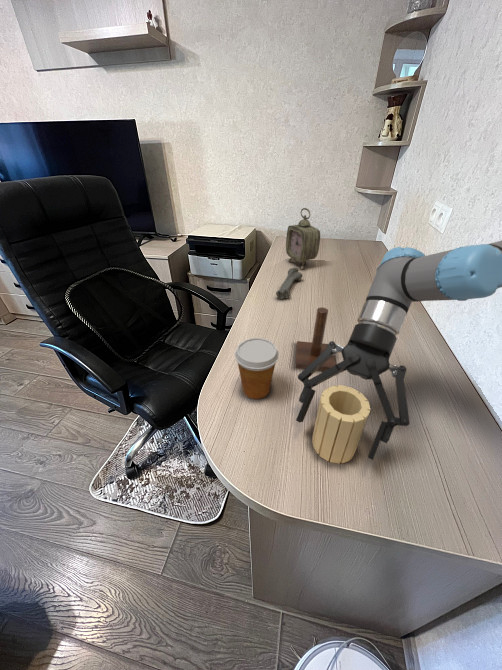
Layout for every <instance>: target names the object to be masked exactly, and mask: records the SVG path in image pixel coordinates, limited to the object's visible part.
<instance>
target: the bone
mask: <svg viewBox="0 0 502 670" xmlns="http://www.w3.org/2000/svg"><path fill="white" fill-rule="evenodd" d="M302 279H303V273H302V272H301V271H300V272H299V269H298V268H297V267H291V268H289V269H288V270H287V275H286V278H285V280H284V281H283V282H282V284H281V286H280V287H279V289H278V290H277V291H276V292H275V295H276V297H277V299H278V300H283V299H288V298H290V296H291V294H290V289H291V286H292V285H293V283H294V281H295V280H297V282H300V281H301V280H302Z"/></svg>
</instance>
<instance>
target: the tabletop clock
mask: <svg viewBox="0 0 502 670" xmlns="http://www.w3.org/2000/svg"><path fill="white" fill-rule="evenodd" d="M303 211H307V213H308V217H307V215H306V214H305V215H303V213H302V212H303ZM300 216H301V218H302V219H300V220H299V221H298V224H293V225H288V227H287V230H286V238H285V251H286V255H287V256H288V257H289V259H288V263H292V261H296V262H299V263H301V262H302V263H301V266H300V270H305V266H304V265H306V264H307V261H310V260H315V259H316V258H317V257H318V254H319V250H320V245H321V230H319V229H318V228H316V227H314V226H312V225H311V222H310V220H309V219H310V218H311V211H310V209H309V208H307V207H303V208H301V210H300Z"/></svg>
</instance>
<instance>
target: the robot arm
mask: <svg viewBox="0 0 502 670" xmlns="http://www.w3.org/2000/svg"><path fill="white" fill-rule="evenodd" d="M500 288H502V240H497V241H494V242H490V243H479V244H470V245H465V246H459V247H456V248H455V247H454V248H453V249H449V250H445V251H440V252H436V253H432V254H428V255H426V254H425V253H424V252H422V251H421V250H419V249H417V248H414V247H409V246H406V247H402V246H397V247H393V248H391V249H389V250H388V251H386V253H385V254H384V256H383V258H382V260H381V263H379V265H378V267H377V269H376V272H375V275H374V278H373V281H372V283H371V285H370V287H369V289H368V292H367V295H366V297H365V301H364V303H363V305H362V307H361V310H360V312H359V315H358V317H357V319H356V321H357V324H355V325H354V326H353V330H352V332H351V334H350V337H349V339H348V341H347V343H346V345H345V346H341V345H339V344H337V343H336V342H335V341H333V340H331V341H329V342H328V343H327V344H328V346H327V348H326V350H325V351H324V352H323V353H322V354H321V355H320V356H319V357H317V358H316V359H315V360H314V361H313V362H312V363H311V364H310V365H309V366H308V367H306V368H305V369H302V371H301V372H300V373H299V374H297V379H298V380H299V381H300V382H301V383H302V385H303V388H302V391H301V393H300V395H299V398H298V402H299V403H301V407H300V409H299V411H298V414H297V417H296V419H295V421H296V422H298V423H303V422H304V421H305V418H306V415H307V413H308V411H309V408H310V405H311V403H312V401H313V398H314V396H315V394H316V390H315V389H313V388H314V387H316V386H318V385H320V384H321V383H324V382H326V381H327V380H329V379H331V378H333V377H335V376H337V375H339V374H341V373H344V372H345V371H347V372H348V373H349V374H350V375H353V376H358V377H359V378H361V379H363V380H365V381H370V380H372V383H373V385H374V388H375V391H376V394H377V396H378V399H379V402H380V404H381V407H382V409H383V412H384V415H385V418H386V421H384V420H381V422H380V425H379V426H378V427H379V428H378V429H377V433H376V435H375V438H374V439H373V442H372V445H371V447H370V450H369V453H368V455H367V459H369V460H371V461H373V460H374V457H375V455H376V453H377V450H378V447H379V445H380V442H382V443H385V444H387V443H388V442H389V441H390V438H391V436H392V433H393V430H394V428H395V427H397V426H402V427H409V425H410V416H409V408H408V401H407V394H406V386H405V377H406V373H407V367H406V366H405V365H396V364H393V363H390V358H391V356H392V353H393V350H394V348H395V346H396V343H397V340H398V338H397V335H400V332H401V330H402V328H403V325H404V322H405V320H406V317H407V315H408V312H409V311H410V307H411V305H412V302H413V303H414V302H433V301H458V302H466V301H468V300H473V299H474V300H475V299H485V298H488V297H491V296H492V295H494V294H495V293H496V292H497V290H498V289H500ZM338 354H341V356H342V361H340V362H338V363H335V364H336V365H335V366H333V367H332V368H330V369H328V370H326V371H321V373H319V374H317V375H315V376H313V374H315V373H316V372H317V371H319V370H318V369H319V368H320V367H321V366H322V365H323V364H324V363H325V362H327V361H328V360H329V359H330V358H331V357H332V355H334V356H337V355H338ZM387 371H390V373H391V377H392V378H395V379H394V380H395V381H394V385H395V393H396V394H395V395H396V400H397V409H398V417H396V416H395V413H394V411H393V409H392V405H391V403H390V401H389V398H388V395H387V392H386V390H385V388H384V385H383V382H382V379H381V376H380V375H382V374H383V373H385V372H387ZM311 376H313V377H311ZM310 377H311V378H310Z"/></svg>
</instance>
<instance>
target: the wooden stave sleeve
mask: <svg viewBox="0 0 502 670" xmlns="http://www.w3.org/2000/svg"><path fill="white" fill-rule="evenodd" d="M370 413H371V404H370V401H369V400H368V398H367V397H366V396H365V395H364V394H363V393H362V392H360V391H359V390H357V389H355V388H353V387H351V386H349V387H348V385H341V384H337V385H333V386H332V385H331V386H329V387H327V388H325V389H324V390H323V391H322V393H321V394H320V397H319V403H318V408H317V413H316V416H315V418H316V419H315V423H314V428H313V433H312V438H311V439H312V447H313V449H314V451H315V452H316V454H317V455H319V457H320V458H322V459H323V460H325V461H326V462H329V463H331V464H339V465H341V464H345V463H347V462H350V461H351V460H353V457H354V455H355V454H356V450H357V449H358V445H359V443H360V440H361V438H362V436H363V435H362V434H363V432H364V430H365V426H366V424H367V421H368V418H369V415H370Z"/></svg>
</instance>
